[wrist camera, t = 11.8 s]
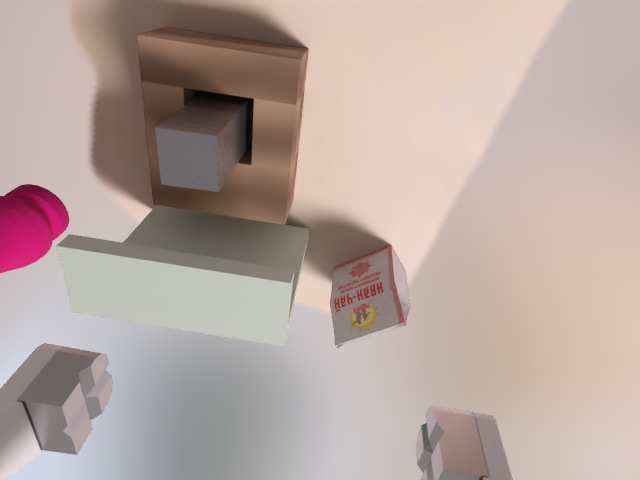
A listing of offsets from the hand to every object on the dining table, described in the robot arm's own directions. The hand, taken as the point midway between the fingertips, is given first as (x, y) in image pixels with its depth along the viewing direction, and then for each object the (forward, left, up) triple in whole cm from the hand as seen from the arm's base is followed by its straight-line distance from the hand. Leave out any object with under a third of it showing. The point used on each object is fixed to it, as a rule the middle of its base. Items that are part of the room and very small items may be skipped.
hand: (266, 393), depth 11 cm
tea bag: (+18, +6, -31) cm, 37 cm away
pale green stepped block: (+12, -9, -31) cm, 34 cm away
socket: (+4, -9, -31) cm, 33 cm away
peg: (+3, -9, -31) cm, 33 cm away
